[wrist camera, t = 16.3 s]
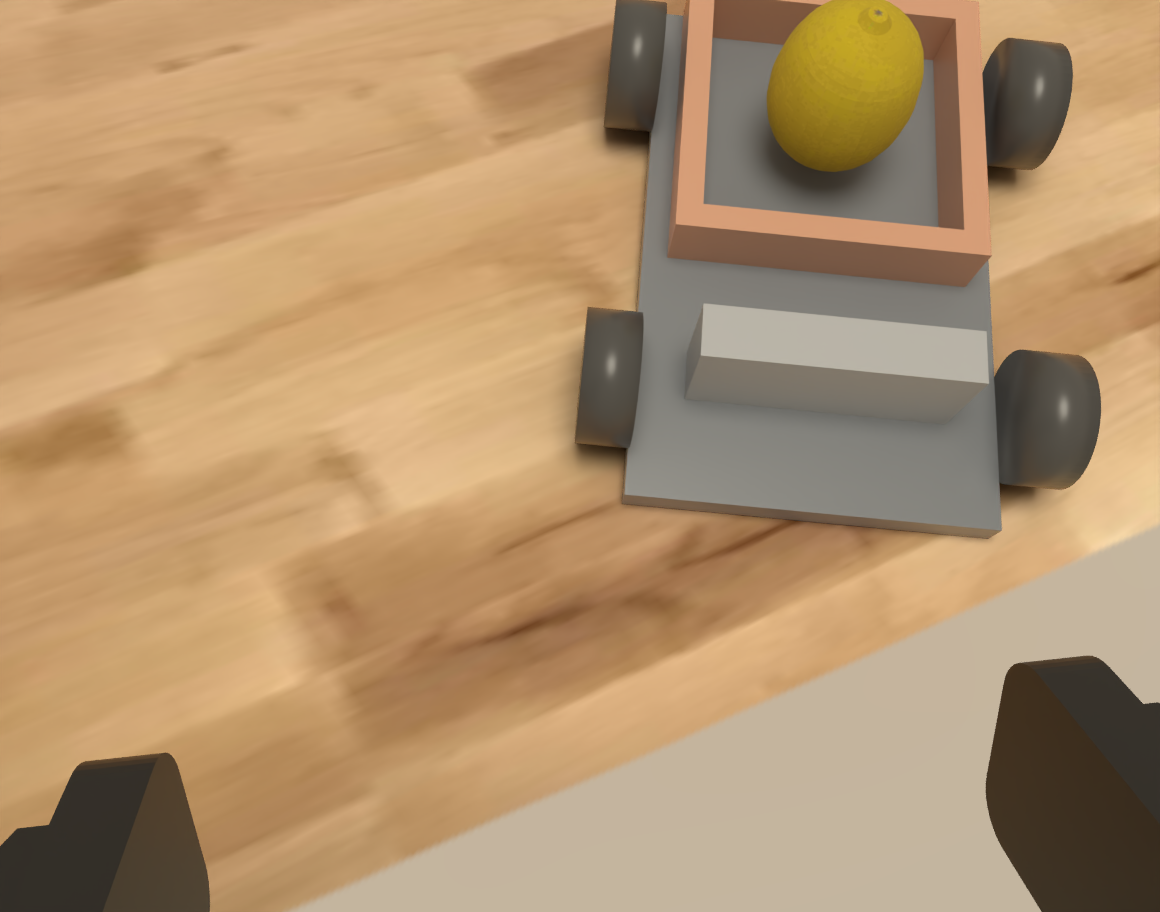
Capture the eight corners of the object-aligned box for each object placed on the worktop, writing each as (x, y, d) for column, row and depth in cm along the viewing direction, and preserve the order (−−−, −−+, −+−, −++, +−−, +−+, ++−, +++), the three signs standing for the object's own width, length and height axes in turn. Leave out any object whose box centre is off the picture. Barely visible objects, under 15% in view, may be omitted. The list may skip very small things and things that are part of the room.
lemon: (900, 140, 44) (984, 1, 36) (835, 232, 42) (909, 108, 34) (790, 73, 44) (849, -77, 37) (721, 161, 43) (769, 24, 35)
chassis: (569, 498, 39) (574, 453, 34) (612, 28, 46) (622, -65, 41) (1040, 543, 39) (1113, 505, 34) (1010, 69, 46) (1067, -19, 42)
